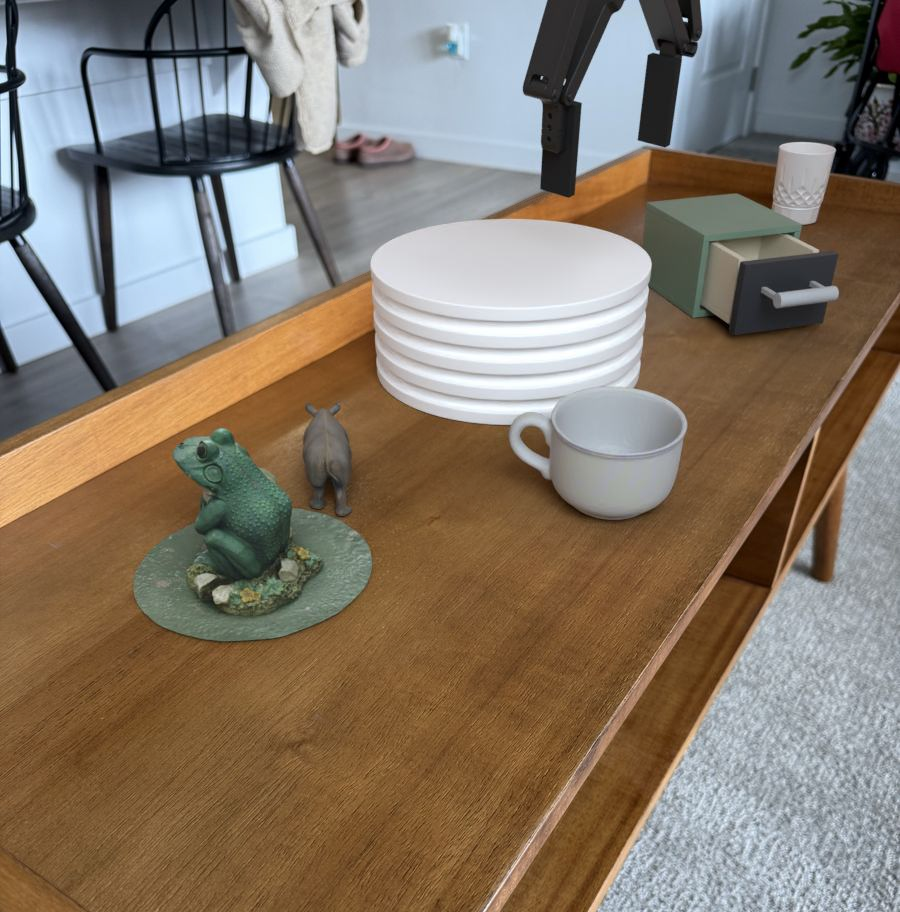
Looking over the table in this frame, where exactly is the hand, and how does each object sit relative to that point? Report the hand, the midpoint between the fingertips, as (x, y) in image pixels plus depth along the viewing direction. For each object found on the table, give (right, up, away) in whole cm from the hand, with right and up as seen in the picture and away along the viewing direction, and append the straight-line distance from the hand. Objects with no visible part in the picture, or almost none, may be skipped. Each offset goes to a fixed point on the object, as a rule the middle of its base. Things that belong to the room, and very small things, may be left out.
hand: (607, 166), depth 77 cm
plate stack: (-7, -10, +26) cm, 29 cm away
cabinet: (+20, +4, +44) cm, 48 cm away
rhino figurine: (-23, -24, +7) cm, 34 cm away
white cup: (+39, +23, +69) cm, 82 cm away
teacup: (-1, -26, +4) cm, 27 cm away
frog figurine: (-28, -33, -4) cm, 43 cm away
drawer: (+23, -2, +35) cm, 42 cm away
